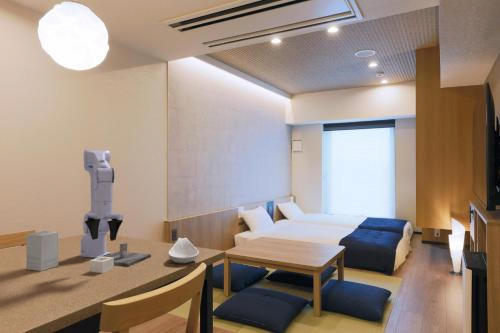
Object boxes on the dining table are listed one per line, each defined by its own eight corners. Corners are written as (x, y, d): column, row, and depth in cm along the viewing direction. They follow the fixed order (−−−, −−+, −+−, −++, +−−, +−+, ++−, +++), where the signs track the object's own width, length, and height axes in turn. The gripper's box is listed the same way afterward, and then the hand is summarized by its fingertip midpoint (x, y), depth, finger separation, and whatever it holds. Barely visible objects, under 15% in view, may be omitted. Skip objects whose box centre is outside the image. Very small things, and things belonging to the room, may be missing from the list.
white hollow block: (90, 271, 116) (90, 260, 116) (101, 267, 121) (101, 256, 121) (102, 273, 114) (102, 261, 114) (113, 268, 119) (113, 257, 120)
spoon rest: (200, 265, 125) (200, 246, 125) (168, 267, 122) (168, 248, 122) (194, 250, 148) (194, 234, 148) (167, 252, 145) (167, 235, 145)
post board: (94, 262, 127) (94, 245, 127) (118, 253, 141) (118, 238, 141) (129, 266, 123) (129, 248, 123) (151, 256, 136) (151, 240, 136)
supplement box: (59, 265, 123) (59, 231, 123) (40, 271, 116) (40, 235, 116) (44, 263, 125) (44, 230, 126) (25, 269, 118) (25, 234, 119)
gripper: (78, 202, 116) (78, 241, 116) (114, 202, 112) (114, 242, 112) (93, 200, 123) (92, 237, 123) (126, 201, 119) (126, 238, 119)
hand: (103, 239), depth 118 cm, fingers open, 7 cm apart
